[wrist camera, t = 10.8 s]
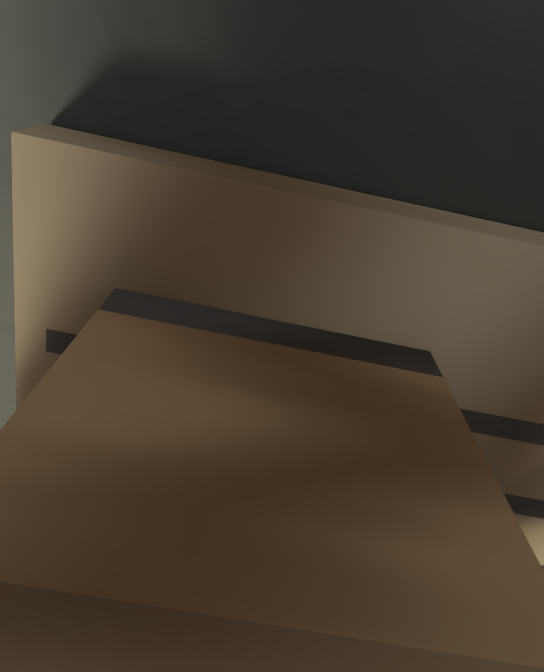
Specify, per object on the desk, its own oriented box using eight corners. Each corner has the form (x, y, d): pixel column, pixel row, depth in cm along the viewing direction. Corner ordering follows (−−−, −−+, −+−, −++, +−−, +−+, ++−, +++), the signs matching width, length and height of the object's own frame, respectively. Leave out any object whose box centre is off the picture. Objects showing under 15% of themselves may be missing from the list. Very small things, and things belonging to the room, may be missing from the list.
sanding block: (430, 351, 8) (598, 677, 4) (321, 626, 11) (343, 984, 7) (115, 288, 8) (-109, 563, 3) (92, 589, 11) (-42, 940, 7)
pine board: (1067, 346, 9) (1171, 383, 8) (710, 696, 14) (746, 748, 13) (48, 124, 8) (10, 132, 7) (42, 590, 13) (20, 637, 12)
